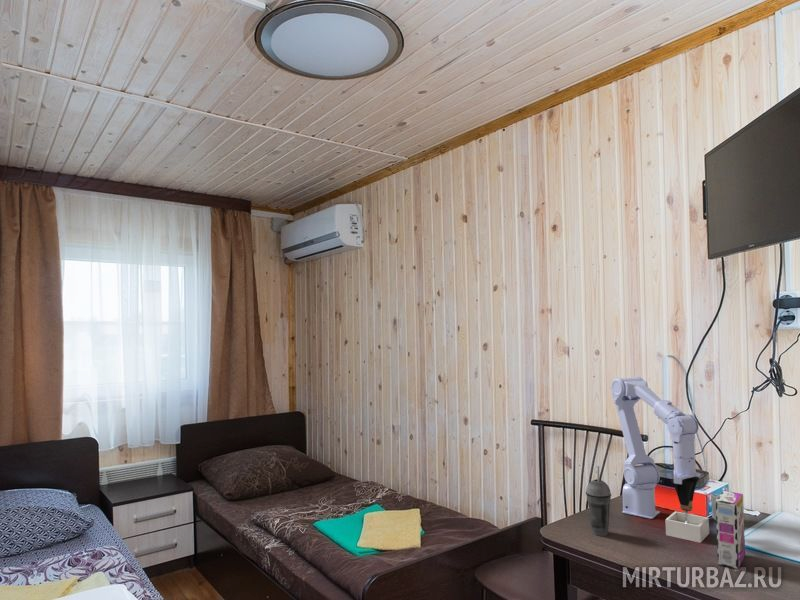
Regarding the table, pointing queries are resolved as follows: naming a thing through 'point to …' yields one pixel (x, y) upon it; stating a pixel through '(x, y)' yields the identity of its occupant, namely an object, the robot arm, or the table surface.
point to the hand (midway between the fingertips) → (686, 503)
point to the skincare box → (714, 505)
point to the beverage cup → (598, 505)
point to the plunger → (687, 511)
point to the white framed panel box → (687, 527)
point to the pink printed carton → (730, 529)
